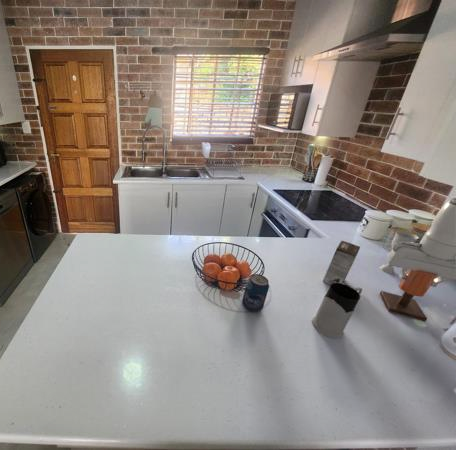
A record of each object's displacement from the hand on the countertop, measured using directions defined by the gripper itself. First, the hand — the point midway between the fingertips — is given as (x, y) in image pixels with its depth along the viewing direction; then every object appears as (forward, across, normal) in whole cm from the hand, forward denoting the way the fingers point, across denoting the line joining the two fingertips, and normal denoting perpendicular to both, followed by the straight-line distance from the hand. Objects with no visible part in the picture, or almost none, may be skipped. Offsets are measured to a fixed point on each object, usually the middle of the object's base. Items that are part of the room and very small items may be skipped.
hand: (416, 281), depth 84 cm
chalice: (+12, +3, +26) cm, 29 cm away
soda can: (+12, -49, -25) cm, 56 cm away
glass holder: (+12, -24, -21) cm, 34 cm away
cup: (+4, 0, 0) cm, 4 cm away
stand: (+11, 0, 0) cm, 11 cm away
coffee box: (+12, -20, +6) cm, 24 cm away
